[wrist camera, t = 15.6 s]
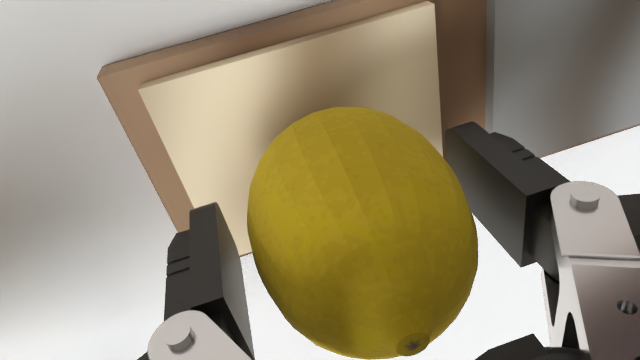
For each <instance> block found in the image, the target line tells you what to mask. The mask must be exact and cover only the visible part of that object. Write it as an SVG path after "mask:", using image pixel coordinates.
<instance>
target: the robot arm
mask: <svg viewBox="0 0 640 360" xmlns="http://www.w3.org/2000/svg"><path fill="white" fill-rule="evenodd" d="M445 144H446V162H447V163H448V164H449V166H450V167H451V168H452V170H453V172H454V173H455V175H456V177H457V179H458V181H459V183H460V185H461V187H462V190H463V192H464V195H465V197H466V200H467V202H468V205H469V208H470V210H471V212H472V213H473V214H474V215H475V216H476V218H477V219H478V220H479V221H480V222H481V223H482V224H483V225H484V227H485V228H486V229H487V230H488V231H489V232H490V233H491V234H492V236H493V237H494V238H495V239H496V240H497V241H498V242H499V243H500V245H501V246H502V247H503V248H504V249H505V250H506V251H507V252H508V254H509V255H510V256H511V257H512V258H513V259H514V260H515V261H516V263H517V264H518V265H519V266H520V267H524V266H527V265H530V264H532V263H535V262H538V264H539V265H540V266H541V267H542V273H541V280H542V287H543V294H544V301H545V308H546V315H547V322H548V329H549V337H550V347H543V345H542V344H541V343H540V342H539V340H538V339H537V338H536V337H535V335H534V334H530V335H528V336H525V337H522V338H519V339H517V340H514V341H511V342H508V343H506V344H503V345H500V346H497V347H495V348H492V349H489V350H488V351H486V352H485V353H484V354H482V355H481V356H479V357H478V358H477V359H475V360H640V194H632V195H620V196H617V195H616V194H615V193H614V192H613V191H611V190H610V189H608V188H606V187H604V186H602V185H599V184H596V183H592V182H585V181H574V182H570V181H569V180H568V179H566V178H565V177H564V176H562V175H561V174H560V173H558V172H557V171H556V170H554V169H553V168H552V167H550V166H549V165H548V164H546V163H545V162H544V161H542V160H541V159H540V158H538V157H535V155H534V154H533V153H532V152H530V151H529V150H528V149H525V147H524V146H522V145H521V144H520V143H518V142H517V141H516V140H514V139H513V138H511V137H508V136H505V135H502V134H500V133H497V132H493V133H490V134H489V133H488V132H487V131H486V130H484V129H483V128H482V127H481V126H479V125H478V124H477V123H475V122H473V121H471V122H468V123H465V124H462V125H459V126H455V127H452V128H449V129H447V130H446V133H445ZM167 264H168V266H167V278H166V293H165V311H164V322H163V323H162V324H161V325H160V326H159V327H158V328H157V329H156V331H155V332H154V333H153V335H152V337H151V339H150V341H149V344H148V351H147V352H146V353H145V354H144V355H143V356H142V357H140V358H139V359H137V360H255V358H254V351H253V344H252V337H251V330H250V323H249V316H248V309H247V302H246V295H245V288H244V281H243V274H242V267H241V261H240V257H239V253H238V250H237V247H236V244H235V242H234V239H233V237H232V235H231V232H230V230H229V228H228V225H227V223H226V221H225V218H224V216H223V214H222V211H221V209H220V207H219V205H218V203H217V202H213V203H210V204H207V205H204V206H201V207H198V208H195V209H191V210H190V212H189V230H185V231H182V232H179V233H176V235H175V237H174V238H173V240H172V242H171V244H170V246H169V247H168V257H167Z"/></svg>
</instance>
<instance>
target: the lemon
mask: <svg viewBox="0 0 640 360" xmlns="http://www.w3.org/2000/svg"><path fill="white" fill-rule="evenodd" d="M247 230H248V236H249V240H250V245H251V249H252V253H253V257H254V261H255V264H256V267H257V270H258V273H259V275H260V277H261V280H262V282H263V284H264V286H265V288H266V289H267V291H268V293H269V295H270V296H271V298H272V299H273V301H274V302H275V304H276V305H277V307H278V308H279V310H280V311H281V313H282V314H283V316H284V317H285V319H286V320H287V321H288V322H289V323H290V324H291V325H292V327H293V328H295V329H296V330H297V331H299V332H300V333H301V334H303V335H304V336H305V337H306V338H308V339H309V340H310V341H312V342H313V343H314V344H316V345H317V346H319V347H322V348H324V349H326V350H329V351H331V352H334V353H337V354H340V355H342V356H347V357H352V358H359V359H367V360H371V359H389V358H394V357H398V356H411V355H415V354H417V353H419V352H421V351H423V350H424V349H425V348H426V347H427V346H428V344H429V343H430V342H432V341H433V340H434V339H436V338H437V337H438V336H439V335H441V334H442V333H443V332H444V331H445V330H446V328H447V327H448V326H449V325H450V324H451V323H452V322H453V321H454V320H455V319H456V317H457V316H458V314H459V312H460V311H461V309H462V307H463V306H464V304H465V302H466V300H467V299H468V297H469V295H470V291H471V288H472V285H473V281H474V278H475V275H476V271H477V266H478V238H477V231H476V225H475V222H474V219H473V215H472V213H471V210H470V208H469V205H468V202H467V200H466V197H465V195H464V192H463V190H462V187H461V185H460V183H459V181H458V179H457V177H456V175H455V173H454V172H453V170H452V168H451V167H450V166H449V164H448V163H447V162H446V160H445V159H444V158H443V157H442V156H441V154H440V153H439V152H438V151H437V150H436V149H435V148H434V146H433V145H432V144H431V143H430V142H429V141H428V140H427V139H426V138H425V137H424V136H423V135H422V134H421V133H419V132H418V131H417V130H415V129H413V128H412V127H410V126H408V125H406V124H405V123H403V122H401V121H400V120H398V119H396V118H395V117H393V116H391V115H389V114H386V113H383V112H379V111H375V110H372V109H368V108H364V107H333V108H329V109H325V110H321V111H317V112H313V113H311V114H309V115H307V116H305V117H303V118H301V119H300V120H298V121H296V122H294V123H292V124H291V125H290V126H289V127H287V128H286V129H285V130H284V131H283V132H281V133H280V134H279V135H278V136H277V137H276V138H275V139H274V140H273V142H272V143H271V144H270V146H269V147H268V149H267V150H266V151H265V153H264V154H263V156H262V157H261V159H260V161H259V163H258V166H257V169H256V171H255V174H254V176H253V179H252V182H251V185H250V190H249V199H248V210H247Z"/></svg>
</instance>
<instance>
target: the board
mask: <svg viewBox="0 0 640 360" xmlns="http://www.w3.org/2000/svg"><path fill="white" fill-rule="evenodd" d="M97 79H98V81H99V83H100V84H101V86H102V88H103V90H104V92H105V94H106V96H107V98H108V100H109V102H110V104H111V105H112V107H113V109H114V111H115V113H116V115H117V117H118V119H119V121H120V123H121V125H122V126H123V128H124V130H125V132H126V134H127V136H128V138H129V140H130V142H131V144H132V146H133V147H134V149H135V151H136V153H137V155H138V157H139V159H140V161H141V163H142V165H143V167H144V168H145V170H146V172H147V174H148V176H149V178H150V180H151V182H152V184H153V186H154V187H155V189H156V191H157V193H158V195H159V197H160V199H161V201H162V203H163V205H164V207H165V208H166V210H167V212H168V214H169V216H170V218H171V220H172V222H173V224H174V226H175V228H176V229H177V231H178V233H179V232H182V231H185V230H189V212H190V210H191V209H195V208H198V207H201V206H204V205H207V204H210V203H213V202H217V203H218V205H219V207H220V209H221V211H222V214H223V216H224V218H225V221H226V223H227V225H228V228H229V230H230V232H231V235H232V237H233V239H234V242H235V244H236V247H237V250H238V253H239V257H242V256H245V255H248V254H251V253H252V249H251V245H250V240H249V236H248V230H247V210H248V199H249V190H250V185H251V182H252V179H253V176H254V174H255V171H256V169H257V166H258V163H259V161H260V159H261V157H262V156H263V154H264V153H265V151H266V150H267V149H268V147H269V146H270V144H271V143H272V142H273V140H274V139H275V138H276V137H277V136H278V135H279V134H280V133H281V132H283V131H284V130H285V129H286V128H287V127H289V126H290V125H291V124H292V123H294V122H296V121H298V120H300V119H301V118H303V117H305V116H307V115H309V114H311V113H313V112H317V111H321V110H325V109H329V108H333V107H364V108H368V109H372V110H375V111H379V112H383V113H386V114H389V115H391V116H393V117H395V118H396V119H398V120H400V121H401V122H403V123H405V124H406V125H408V126H410V127H412V128H413V129H415V130H417V131H418V132H419V133H421V134H422V135H423V136H424V137H425V138H426V139H427V140H428V141H429V142H430V143H431V144H432V145H433V146H434V148H435V149H436V150H437V151H438V152H439V153H440V154H441V156H442V157H443V158H444V159H445V160H446V144H445V133H446V130H447V129H449V128H452V127H455V126H459V125H462V124H465V123H468V122H471V121H473V122H475V123H477V124H478V125H479V126H481V127H482V128H483V129H484V130H486V131H487V132H488V133H489V134H490V133H493V132H497V133H500V134H502V135H505V136H508V137H511V138H513V139H514V140H516V141H517V142H518V143H520V144H521V145H522V146H524V147H525V149H528V150H529V151H530V152H532V153H533V154H534V155H535V157H538V158H542V157H545V156H548V155H551V154H554V153H557V152H560V151H563V150H566V149H569V148H572V147H575V146H578V145H581V144H584V143H587V142H590V141H593V140H596V139H599V138H602V137H605V136H608V135H611V134H614V133H617V132H621V131H624V130H627V129H630V128H633V127H636V126H639V125H640V0H335V1H331V2H328V3H324V4H321V5H317V6H314V7H310V8H307V9H303V10H300V11H296V12H292V13H289V14H285V15H282V16H278V17H275V18H271V19H268V20H264V21H261V22H257V23H254V24H250V25H247V26H243V27H240V28H236V29H233V30H229V31H226V32H222V33H218V34H215V35H211V36H208V37H204V38H201V39H197V40H194V41H190V42H187V43H183V44H180V45H176V46H173V47H169V48H166V49H162V50H159V51H155V52H151V53H148V54H144V55H141V56H137V57H134V58H130V59H127V60H123V61H120V62H116V63H113V64H109V65H106V66H102V68H101V70H100V72H99V74H98V76H97Z"/></svg>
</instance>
